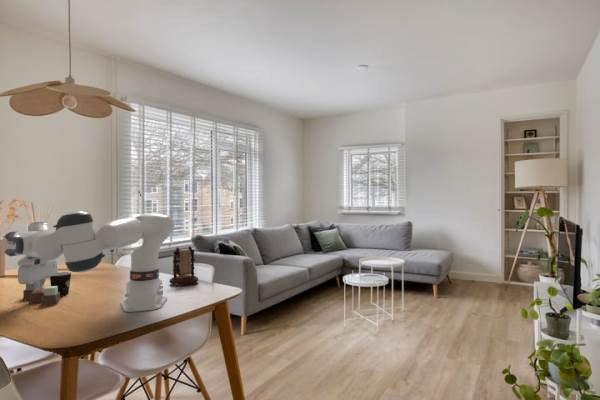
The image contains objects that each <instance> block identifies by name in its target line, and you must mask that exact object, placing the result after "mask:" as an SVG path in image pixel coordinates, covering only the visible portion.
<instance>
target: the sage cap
mask: <svg viewBox="0 0 600 400" xmlns="http://www.w3.org/2000/svg"><path fill="white" fill-rule="evenodd" d="M43 289H44V296H50V295H56V294H57V293H58V286H51V285H50V286H45V287H43Z"/></svg>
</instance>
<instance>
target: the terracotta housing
mask: <svg viewBox="0 0 600 400" xmlns="http://www.w3.org/2000/svg"><path fill="white" fill-rule="evenodd" d="M43 295H44V293H34V294H32V293H31V294H30V299H29V304H34V303H33V302H39V303H42V296H43Z"/></svg>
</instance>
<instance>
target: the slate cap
mask: <svg viewBox="0 0 600 400" xmlns="http://www.w3.org/2000/svg"><path fill="white" fill-rule="evenodd" d="M25 290H26V291H29V290H35V286H34V284H33V282H32V283H29V284H25Z"/></svg>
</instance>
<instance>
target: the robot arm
mask: <svg viewBox="0 0 600 400" xmlns="http://www.w3.org/2000/svg"><path fill="white" fill-rule="evenodd" d="M52 227H53V228H55V230H51V224H50V223H49V222H45V221H43V222H42V221H41V222H40V221H38V222H32V223H29V224H28V228H27V231H10V232H7V233H6V234H5V235H4V236H3V238H2V241H1V248H2V251H3V253H4V254H6V255H7V256H8V257H15V256H17V257H18V256H23V255H24V257H23V258H21V259H20V260H18V261H17V266H18V268H17V269H18V270H17V282H18V284H20V285H26V284H29V283H32V282H33V284H34V286H35V290H41V289H44V285H45V282H46V279H48V278H50V277H51V276H54V275H57V273H59V272H58V271H59V269H58V261H57V260H56V259H58V258H60V257H61V256H63V257H64V259H65V262H64V263H65V266H66V268H67V269H68V272H71V273H85V272H86V273H87V272H89V271H91V270H92V269H95V268H96V267H98V266H99V264H100V263H101V262H102V259H103V258H105V257H106V254H104V251H107V250H108V251H109V250H114V249H116V250H117V249H121V248H124V247H128V246H130V245H133V244H136V243H137V242H139V241H140V240H142V239H143V240H142V241H143V242H142V244H141V246H138V247H137V248H135V249H133V251H132V252H131V254H130V270H129V281H128V282H127V283H125V284H126V293H125V294H124V297H125V299H123V300H120V304H121V308H122V310H123V312H127V313H128V312H129V313H131V312H147V311H153V310H154V311H155V310H158V309H159V310H160V309H161V308H162V307H163V306H164V304H165V302H167V300H168V296H164V289H163V288H164V285H163V280H161V279H160V278H159V277H160V268H159V255H160V254H159V253H160V249H161V247H162V245H163V243H164V242H165V241H166V239H168V238H169V237H170V236H171V235H172V234H173V232H174V230H175V222H174V220H173V218H172V217H171V216H170V215H166V214H160V213H128V214H123V215H120V216H118V217H117V219H114V220H110V221H108V222H106V223H104V224H103V225H100V226H99V228H98V229H97V230H96V229H95V225H94V219H93V216H92V215H91V213H90V212H88V211H81V210H73V211H69V212H67V213H65V214H63V215H61V216H60V218H59V219H58V220H57V222H56V224H55V225H53V226H52Z"/></svg>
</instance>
